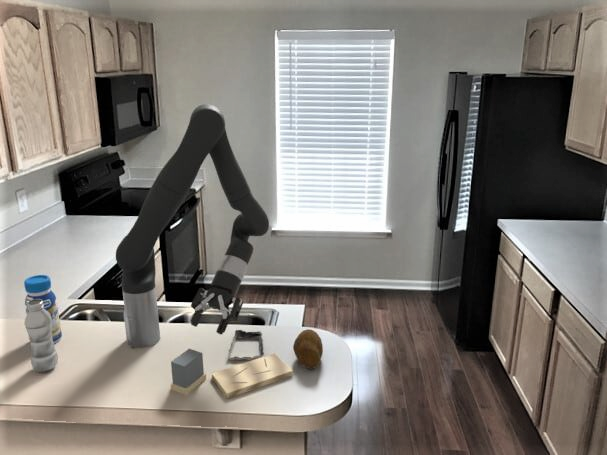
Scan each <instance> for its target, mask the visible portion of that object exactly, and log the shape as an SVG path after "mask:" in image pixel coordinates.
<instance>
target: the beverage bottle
mask: <svg viewBox="0 0 607 455" xmlns="http://www.w3.org/2000/svg"><path fill="white" fill-rule="evenodd" d="M23 284H24V289H25V290H24V291H25V292H26V294H27V295H26V297H25V300H24V305H25V306H26V308H25V313H26V315H27V314H28V312H29V311H28V309H27V308H28V307H27V302H29V301H31V300H34V299H41V300H42V301H43V304H44V309H45V310H46V311H48V312H49V313H50V315H51V317H52V339H53V343H54V344H56V343H58V342H59V341H60V340H61V339H62V337H63V332H62V328H61V322H60V317H59V306H58V302H57V301H56V300H57V296H56V294H55V293H54V292H53V291H52V290H51V288H52V282H51V278H50V276H49V275H47V274H37V275H33V276H30V277H27V278H26V279H25V280H24V282H23Z"/></svg>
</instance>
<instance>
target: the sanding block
mask: <svg viewBox="0 0 607 455" xmlns="http://www.w3.org/2000/svg"><path fill="white" fill-rule="evenodd" d="M203 358H204V356H203V352H201V351H199V350H195V349H192V348H188V349H186V350H185V351H183V353H181V354H179V355H177V357H175V358H174V359H173V360H171V361H170V367H171V377H172V383H170V389H171V390H173V391H176V392H178V393H180V394H184V395H188V394H189V393H191V392H192V391H193V390H194V389H196V387H198V386H199V385H200V384H202V383H203V382H204V381H205V380H206V379H207V373H205V371H204V370H205V369H204V359H203Z"/></svg>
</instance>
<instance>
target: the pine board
mask: <svg viewBox="0 0 607 455" xmlns="http://www.w3.org/2000/svg"><path fill="white" fill-rule="evenodd" d="M293 372H294V370H293V369H292V368H291V367H289V365H288V364H286V362H285V361H283V360H282V359H281V358H280V357H279V356H278V355H277V354H276V353H274V352H273V353H271V354H267V355H265V356H264V355H263V356H261V358H258V359H254V360H249V361H246V362H244V363H239V364H237V365H234V366H230V367H228V368H227V367H226V368H224V369H222V370H219V371H215V372H212V373H211V379H212V381H213V382H214V384H216V386H217V388H218V389H219V390H220V391H221V393H222V394H223V395H224V397H225V398H226V400H227V399H230V398H233V397H236V396H239V395H241V394H244V393H247V392H250V391H253V390H256V389H258V388H261V387H264V386H267V385H270V384H272V383H275V382H278V381H282V380H284V379H286V378H289V377H292V376H293Z"/></svg>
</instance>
